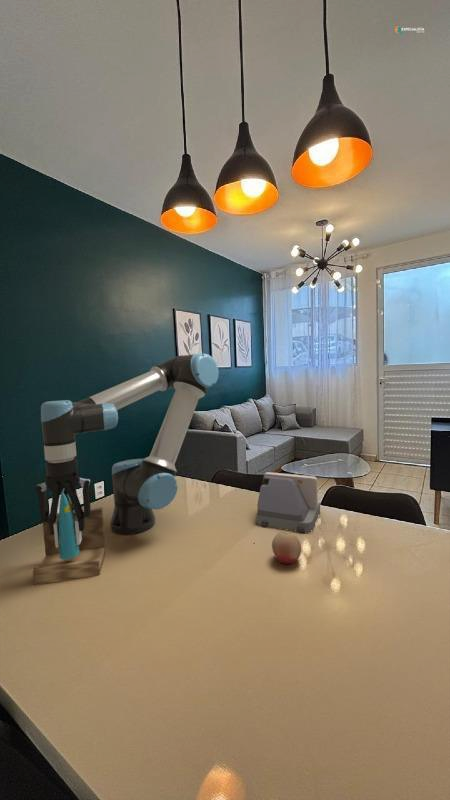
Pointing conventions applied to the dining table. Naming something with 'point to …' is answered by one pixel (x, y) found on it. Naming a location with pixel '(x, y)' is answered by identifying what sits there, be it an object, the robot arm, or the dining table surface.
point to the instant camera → (288, 502)
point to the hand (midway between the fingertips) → (69, 543)
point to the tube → (67, 529)
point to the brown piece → (84, 562)
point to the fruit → (286, 547)
